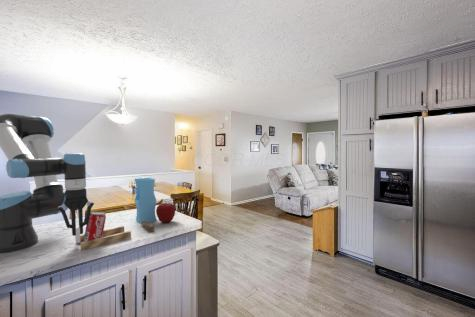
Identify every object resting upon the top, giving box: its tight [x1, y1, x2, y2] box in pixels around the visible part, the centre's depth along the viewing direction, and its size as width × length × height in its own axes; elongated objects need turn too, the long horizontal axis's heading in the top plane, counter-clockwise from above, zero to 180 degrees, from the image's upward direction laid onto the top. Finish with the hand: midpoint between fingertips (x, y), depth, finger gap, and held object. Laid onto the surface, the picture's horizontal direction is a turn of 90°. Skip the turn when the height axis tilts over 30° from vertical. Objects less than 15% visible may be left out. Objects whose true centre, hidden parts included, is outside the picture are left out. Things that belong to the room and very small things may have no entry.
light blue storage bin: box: [134, 177, 157, 224], centre depth 136 cm, size 10×10×25 cm
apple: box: [155, 202, 176, 224], centre depth 132 cm, size 11×11×12 cm
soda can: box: [83, 211, 107, 241], centre depth 104 cm, size 7×7×13 cm
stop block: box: [141, 221, 156, 233], centre depth 120 cm, size 2×12×3 cm, turn 43°
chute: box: [79, 225, 132, 251], centre depth 106 cm, size 20×12×3 cm, turn 133°
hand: (78, 241), depth 99 cm, fingers closed
